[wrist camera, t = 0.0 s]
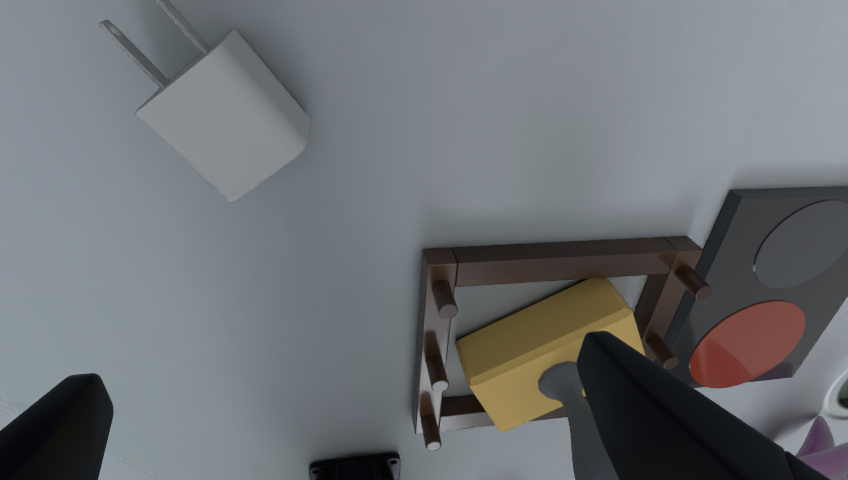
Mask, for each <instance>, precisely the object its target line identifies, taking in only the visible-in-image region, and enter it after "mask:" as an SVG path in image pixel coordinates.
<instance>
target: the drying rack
mask: <svg viewBox="0 0 848 480" xmlns="http://www.w3.org/2000/svg"><path fill="white" fill-rule="evenodd" d="M702 252H703V249H702V248H700V247H699V246H698V245H697V244H696V243H695V242H693V241H692V240H691V239H690V238H689V237H687V236H684V237H665V238H643V239H623V240H602V241H582V242H561V243H541V244H520V245H500V246H479V247H458V248H438V249H423V256H422V271H421V287H420V302H419V317H418V333H417V348H416V363H415V379H414V394H413V409H412V419H413V424H414V430H415V434H422V433H423V435H424V441H425V446H426V448H427V450H429V451H434V450H437V449H439V448H440V447H441V439H440V435H439V432H440V431H449V430H458V429H466V428H475V427H484V426H493V425H495V424H494V422H493V421H492V419H491V418H490V416H489V415H488V413H487V412H486V410H485V409H484V407H483V406H482V405H481V403H480V402H479V400H478V399H477V397H476V396H475V395H468V396H458V397H449V398H442V394H443V391H445V390H446V389H447V388H448V386H449V382H448V379H447V375H446V371H445V368H446V359H447V350H448V342H449V333H450V324H451V318H453V317H454V316H455V315H456V314H457V312H458V307H457V304H456V301H455V298H454V289H455V286H456V287H462V286H477V285H493V284H509V283H525V282H541V281H557V280H573V279H589V278H604V277H620V276H636V275H649V278H648V280H647V283H646V285H645V288H644V291H643V293H642V296H641V298H640V301H639V304H638V306H637V309H636V311H635V314H634V318H635V322H636V325H637V329H638V332H639V335H640V339H641V342H642V346H643V349H644V353H645V356H646V357H647V358H649V359H650V360H652V361H653V362H654V360H655V357H656V358H657V360H658V361H659V362H660V364H661V365H662V366H663V367H664V368H665V369H671V368H673V367H675V366H676V365H677V364H678V362H679V360H678V358H677V357H676V356H675V354H674V353H673V352H672V351H671V349H670V348H669V347H668V346H667V345H666V343H665V342H664V341H663V339H664V337H665V335H666V333H667V330H668V328H669V326H670V324H671V321H672V319H673V317H674V315H675V312H676V310H677V308H678V306H679V303H680V301H681V299H682V297H683V294H684V292H685V290H686V289H687V290H688V291H689V292H690V293H691V294H692V295H693V296H694V297H695V298H696V299H698V300H704V299H706V298H708V297H709V296H710V295H711V294H712V292H713V289H712V287H711V286H710V285H709V284H708V283H707V282H706V281H705V280H704V279H703V278H702V277H701V276H700V275H698V274H697V273H696V272H695V271H694V270H695V267H696V265H697V263H698V261H699V258H700V256H701V254H702ZM584 398H585V400H586V401H587V398H586V396H585V397H584ZM587 403H588V401H587ZM562 417H568V416H567V413H566V410H565V408H564V406H562V407H560V408H557V409H555V410H553V411H551V412H548V413H546V414H544V415H542V416H539V417H537V418H535V419H532V420H530V421H536V420H545V419H553V418H562Z"/></svg>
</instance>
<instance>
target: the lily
mask: <svg viewBox="0 0 848 480" xmlns="http://www.w3.org/2000/svg"><path fill="white" fill-rule="evenodd" d="M796 457H797V458H799V459H800V460H802V461H803V462H805V463H806V464H808V465H809V466H811V467H812V468H814V469H815V470H817V471H818V472H820V473H821V474H823V475H824V476H826V477H827V478H829V479H831V480H848V477H846V476H845V475H847V473H848V442H847V443H844V444H841V445H838V446H836V447H835V444H834V439H833V436H832V434H831V431H830V428H829V426H828V425H827V423H826V421H825V420H824V418H823V417H822V416H818V417H817V418H816V419H815V421H814V423H813V424H812V426H811V429H810V431H809V433H808V435H807V437H806V439H805V441H804V443H803V445H802V447H801V448H800V450H799V452H798V453H797V454H796Z"/></svg>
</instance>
